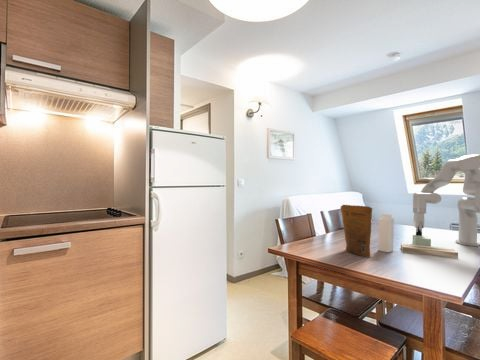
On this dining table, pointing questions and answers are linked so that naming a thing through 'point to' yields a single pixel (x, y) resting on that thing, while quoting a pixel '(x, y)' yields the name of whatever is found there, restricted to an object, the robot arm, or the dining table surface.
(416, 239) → the block
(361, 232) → the pancake mix bag
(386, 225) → the milk
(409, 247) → the board
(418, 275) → the dining table surface
